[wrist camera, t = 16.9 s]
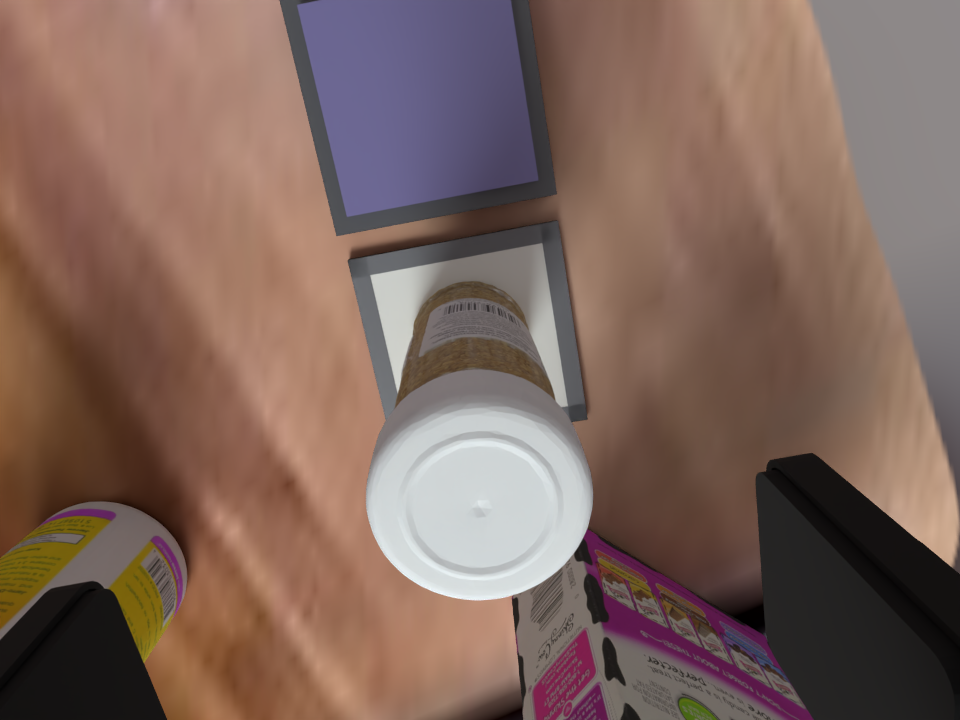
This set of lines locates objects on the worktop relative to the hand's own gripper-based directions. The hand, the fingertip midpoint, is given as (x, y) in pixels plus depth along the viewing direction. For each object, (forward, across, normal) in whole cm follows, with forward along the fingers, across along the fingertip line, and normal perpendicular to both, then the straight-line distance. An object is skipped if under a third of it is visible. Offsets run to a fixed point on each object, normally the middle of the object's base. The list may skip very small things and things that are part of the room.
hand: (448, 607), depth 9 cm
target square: (+17, 0, +1) cm, 17 cm away
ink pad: (+17, 0, -8) cm, 19 cm away
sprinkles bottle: (+17, 0, +1) cm, 17 cm away
